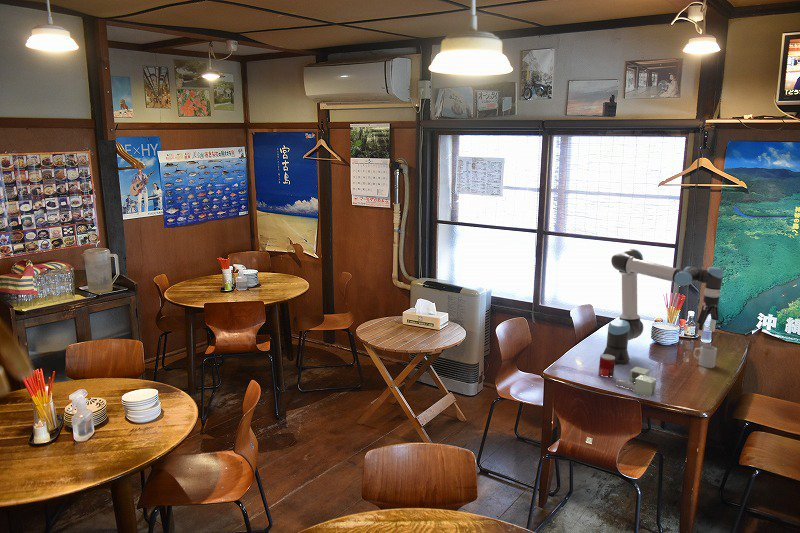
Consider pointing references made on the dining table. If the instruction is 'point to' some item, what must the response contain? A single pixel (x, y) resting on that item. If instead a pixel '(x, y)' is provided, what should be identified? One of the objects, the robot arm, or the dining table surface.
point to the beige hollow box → (638, 373)
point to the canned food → (606, 365)
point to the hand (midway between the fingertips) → (706, 333)
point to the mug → (706, 356)
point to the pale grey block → (639, 385)
